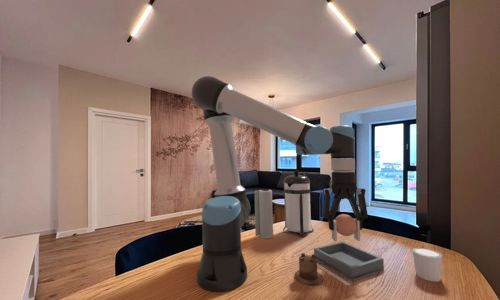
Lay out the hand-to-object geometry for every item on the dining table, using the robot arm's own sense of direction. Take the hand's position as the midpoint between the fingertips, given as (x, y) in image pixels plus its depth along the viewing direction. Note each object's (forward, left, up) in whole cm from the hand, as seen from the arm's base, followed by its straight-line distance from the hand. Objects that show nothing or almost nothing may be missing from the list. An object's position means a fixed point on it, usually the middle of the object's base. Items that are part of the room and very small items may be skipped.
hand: (345, 239), depth 72 cm
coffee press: (+6, +34, -8) cm, 35 cm away
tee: (-17, -1, -8) cm, 19 cm away
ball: (+1, +2, +2) cm, 4 cm away
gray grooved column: (-12, +35, -8) cm, 38 cm away
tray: (0, 0, -8) cm, 8 cm away
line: (-9, +1, -8) cm, 12 cm away
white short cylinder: (+15, -16, -8) cm, 23 cm away
